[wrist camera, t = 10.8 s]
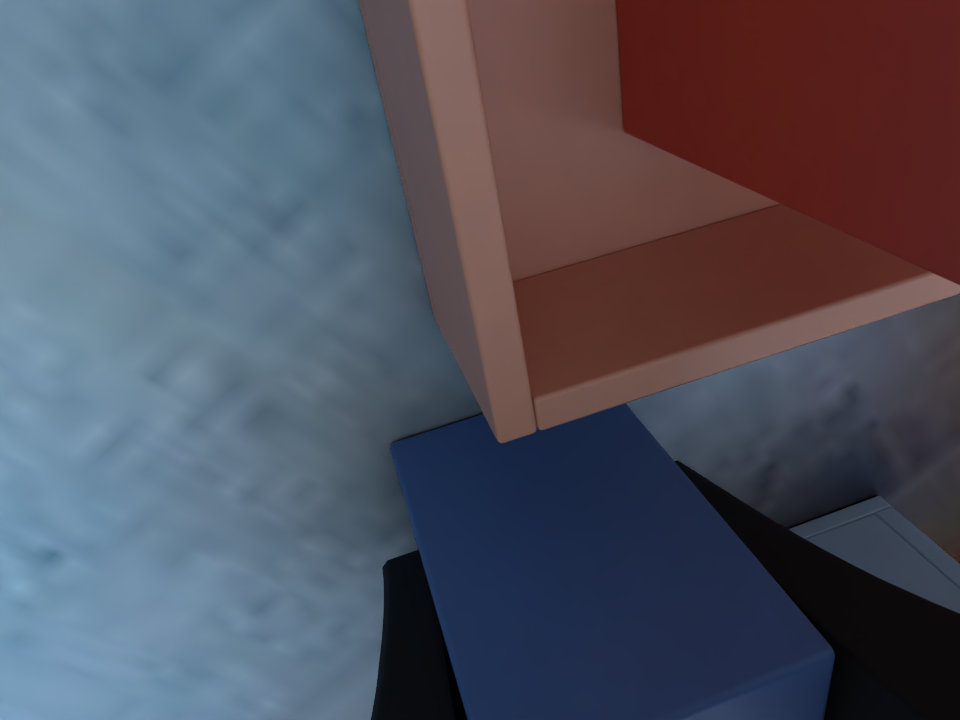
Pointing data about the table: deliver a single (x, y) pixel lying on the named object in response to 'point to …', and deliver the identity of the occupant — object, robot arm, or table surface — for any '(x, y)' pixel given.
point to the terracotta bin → (591, 221)
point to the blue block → (599, 581)
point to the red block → (811, 108)
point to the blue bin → (888, 549)
